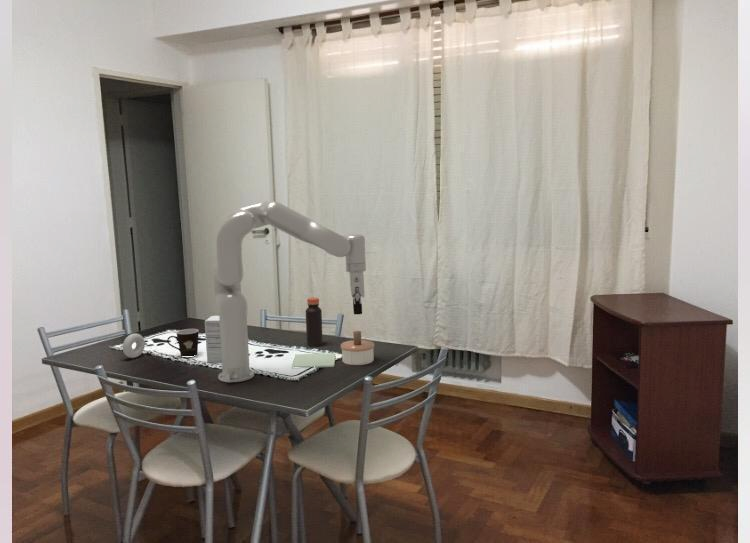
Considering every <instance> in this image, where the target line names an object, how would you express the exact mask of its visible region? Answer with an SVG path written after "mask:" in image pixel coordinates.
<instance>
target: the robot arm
mask: <svg viewBox="0 0 750 543" xmlns="http://www.w3.org/2000/svg"><path fill="white" fill-rule="evenodd" d="M268 225H270V226H272V227H273V228H276V229H277V230H280V231H282V232H284V233H286V234H288V235H289V236H292V237H293V238H295V239H297V240H299V241H301V242H304V243H307V244H311V245H313V246H315V247H318V248H319V249H321V250H324V251H325V253H327V254H329V255H331V256H334V257H337V258H344V257H345V271H346V272H347V273H349V286H350V287H349V288H350V294H351V298H352V306H353V307H352V308H353V315H362V314H363V303H362V298H363V299H364V298H365V297H366V296H365V276H364V273H365V272H366V271H367V267H366V264H367V263H366V239H365V236H364V234H356V233H355V234H347V235H341V234H339V233H338V232H335V231H333V230H331V229H330V228H328V227H326V226H323V225H321V223H320V224H319V223H318V222H317V221H315V220H313V219H311V218H309V217H307V216H305V215H304V214H301V213H300V212H297V211H296V210H294V209H292V208H290V207H288V206H286V205H284V204H282V203H280V202H279V201H276V200H275V201H273V200H267V201H263V202H260V203H256V204H253V205H252V204H251V205H249V206H244V207H241V208H237V209H234V210H233V211H231V212H230V213H229V215H228V216H227V219H226V220H225V221H224V222H223V224H222V225H221V227H219V230H218V231H217V232H218V233H217V235H216V262H215V264H214V266H213V286H214V287H213V288H214V299H215V305H216V306H217V308H218V313H219V315H218V316H219V321H220V340H221V356H222V362H221V368H222V369H221V370H222V372H220V373H219V374H218V375H217V378H218V380H219V381H220V382H224V383H240V382H245V381H248V380H252V378H254V377H255V372H254V370H252V369H250V367H251V366H250V350H249V334H248V332H249V331H248V302H247V299H246V297H245V296H244V294H243V293H242V284H241V282H242V281H243V278H244V268H243V257H242V256H243V254H242V249H243V248H242V245H243V240H244V238H245V237H246V235H248V234H250V233H251V232H253V230H254V229H258V228H262V227H264V226H265V227H266V226H268Z"/></svg>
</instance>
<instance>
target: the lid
mask: <svg viewBox="0 0 750 543" xmlns="http://www.w3.org/2000/svg"><path fill="white" fill-rule="evenodd" d="M352 333H353V338H352V339H353V340H347V341H343V342H341V343H340V349H341V350H342V349H343V350H346V351H367V350H370V349H373V350H374V348H375V343H374V342H373V341H370V340H366V339H362V331H361V330H354V331H353V332H352Z"/></svg>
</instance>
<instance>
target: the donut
mask: <svg viewBox="0 0 750 543" xmlns="http://www.w3.org/2000/svg"><path fill="white" fill-rule="evenodd" d="M133 344H135V348H133ZM145 346H146V343H145V339H144V337H143V336H142V335H141V334H140V333H131V334H129V335H127V337H125V339H124V340H123V344H122V351H123V352H122V353H123V354H124V355H125V356H126V357H128V358H130V359H135V358H138V357H139V356H141V355H142V354H143V352H144V351H145Z"/></svg>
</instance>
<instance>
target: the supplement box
mask: <svg viewBox="0 0 750 543" xmlns="http://www.w3.org/2000/svg"><path fill="white" fill-rule="evenodd" d="M204 332H205V334H204V335H205V347H206V349H205V350H206V362H207V363H222V356H221V340H220V321H219V315H210V317H208V318H207V319H205V320H204Z"/></svg>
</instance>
